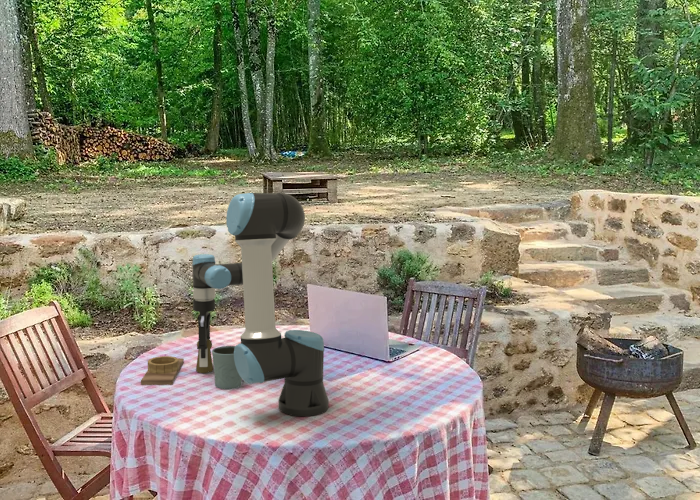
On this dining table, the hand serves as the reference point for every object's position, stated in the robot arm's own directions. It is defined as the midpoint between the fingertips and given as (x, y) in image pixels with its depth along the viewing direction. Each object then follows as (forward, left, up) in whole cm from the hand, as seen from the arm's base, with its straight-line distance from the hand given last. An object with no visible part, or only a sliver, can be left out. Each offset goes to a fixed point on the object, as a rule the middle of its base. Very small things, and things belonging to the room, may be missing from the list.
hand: (204, 363), depth 228 cm
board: (-7, +12, -2) cm, 14 cm away
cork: (0, 0, -2) cm, 2 cm away
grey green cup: (-11, -14, -3) cm, 18 cm away
